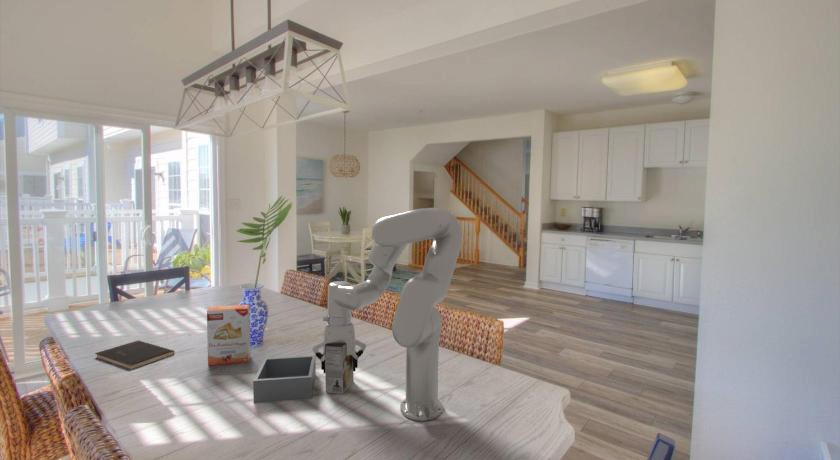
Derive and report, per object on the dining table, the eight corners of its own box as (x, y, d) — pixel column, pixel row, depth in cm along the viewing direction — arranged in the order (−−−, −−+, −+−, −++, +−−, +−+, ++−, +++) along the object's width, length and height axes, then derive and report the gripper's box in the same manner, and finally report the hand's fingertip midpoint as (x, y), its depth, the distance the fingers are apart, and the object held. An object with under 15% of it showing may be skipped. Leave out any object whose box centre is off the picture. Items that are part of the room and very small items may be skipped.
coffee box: (336, 379, 138) (336, 334, 137) (354, 381, 137) (353, 335, 135) (324, 392, 129) (324, 343, 128) (343, 394, 128) (343, 345, 126)
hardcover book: (130, 371, 144) (130, 364, 143) (95, 358, 154) (95, 353, 154) (174, 355, 158) (174, 349, 158) (140, 345, 168) (139, 339, 168)
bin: (311, 398, 125) (311, 377, 124) (253, 403, 122) (253, 380, 121) (315, 374, 142) (315, 355, 141) (264, 378, 138) (264, 358, 138)
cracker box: (207, 366, 147) (205, 310, 145) (211, 360, 153) (209, 306, 151) (249, 362, 151) (247, 308, 149) (251, 356, 157) (249, 303, 155)
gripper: (311, 324, 126) (311, 377, 127) (367, 322, 129) (366, 374, 130) (313, 317, 133) (313, 367, 135) (365, 315, 136) (365, 364, 138)
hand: (339, 370), depth 132 cm, fingers open, 9 cm apart
